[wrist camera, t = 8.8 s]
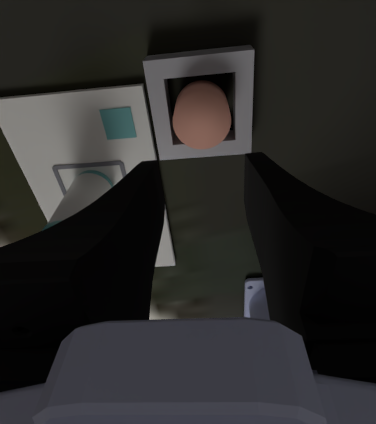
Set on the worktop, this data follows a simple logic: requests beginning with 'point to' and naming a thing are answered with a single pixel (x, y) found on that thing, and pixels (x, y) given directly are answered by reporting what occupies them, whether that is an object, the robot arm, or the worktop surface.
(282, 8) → the worktop surface
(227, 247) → the worktop surface
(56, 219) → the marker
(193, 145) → the button
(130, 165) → the picture card
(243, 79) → the button housing
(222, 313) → the worktop surface
